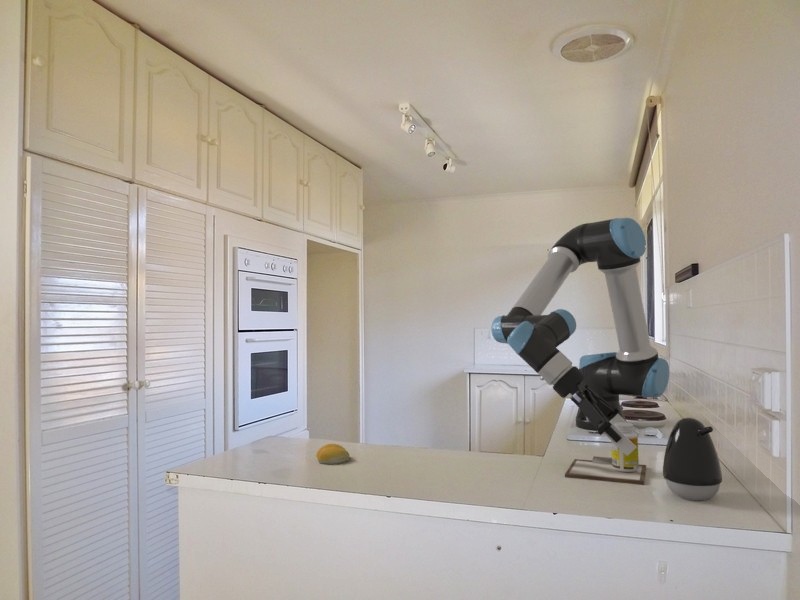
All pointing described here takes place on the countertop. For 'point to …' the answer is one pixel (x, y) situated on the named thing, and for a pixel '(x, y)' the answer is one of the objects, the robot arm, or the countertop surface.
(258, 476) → the countertop surface
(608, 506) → the countertop surface
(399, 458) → the countertop surface
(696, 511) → the countertop surface
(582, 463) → the clipboard
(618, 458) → the supplement bottle
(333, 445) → the bread roll
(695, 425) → the pump dispenser
